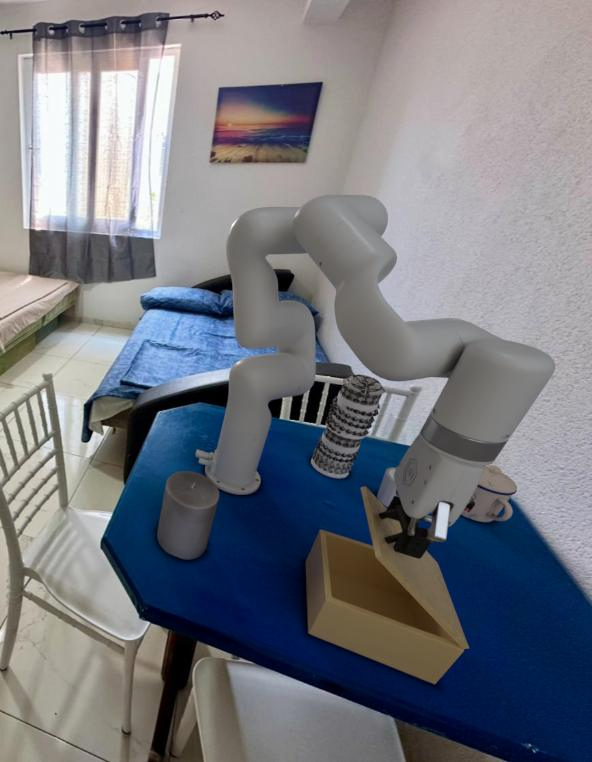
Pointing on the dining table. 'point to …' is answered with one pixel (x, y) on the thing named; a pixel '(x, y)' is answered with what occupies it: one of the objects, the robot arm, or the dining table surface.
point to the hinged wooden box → (372, 610)
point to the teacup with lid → (491, 497)
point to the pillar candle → (187, 514)
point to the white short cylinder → (387, 487)
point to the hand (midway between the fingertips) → (401, 534)
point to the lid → (411, 566)
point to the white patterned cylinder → (347, 425)
